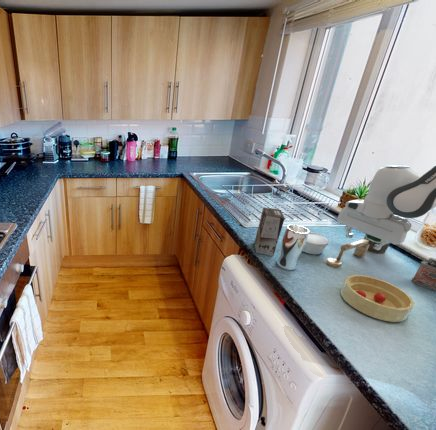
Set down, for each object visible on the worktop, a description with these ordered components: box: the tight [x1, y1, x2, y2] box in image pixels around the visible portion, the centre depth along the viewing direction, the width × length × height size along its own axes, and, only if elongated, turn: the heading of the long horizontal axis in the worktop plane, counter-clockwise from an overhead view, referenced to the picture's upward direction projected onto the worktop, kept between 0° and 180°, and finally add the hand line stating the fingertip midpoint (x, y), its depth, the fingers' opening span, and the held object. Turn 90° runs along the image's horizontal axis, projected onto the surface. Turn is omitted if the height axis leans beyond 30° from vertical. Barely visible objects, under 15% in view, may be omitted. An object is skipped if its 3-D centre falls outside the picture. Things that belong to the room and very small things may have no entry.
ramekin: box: [302, 231, 330, 255], centre depth 114 cm, size 11×11×5 cm
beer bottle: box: [363, 213, 397, 254], centre depth 111 cm, size 8×8×24 cm
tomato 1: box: [356, 290, 366, 297], centre depth 87 cm, size 3×3×3 cm
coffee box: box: [254, 207, 286, 257], centre depth 110 cm, size 9×6×16 cm
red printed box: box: [410, 257, 436, 291], centre depth 93 cm, size 8×3×10 cm, turn 47°
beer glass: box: [276, 224, 310, 271], centre depth 101 cm, size 7×7×15 cm
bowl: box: [340, 274, 415, 323], centre depth 85 cm, size 15×15×5 cm
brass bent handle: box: [325, 238, 370, 269], centre depth 106 cm, size 19×4×7 cm, turn 113°
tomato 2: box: [374, 293, 386, 302], centre depth 86 cm, size 3×3×3 cm
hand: (362, 243), depth 108 cm, fingers open, 8 cm apart
